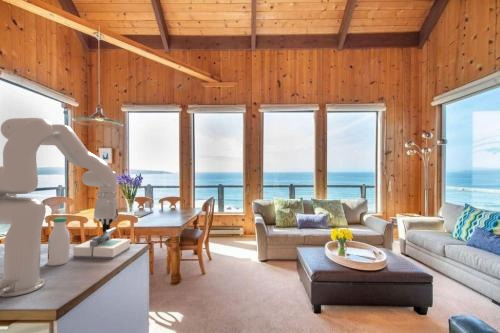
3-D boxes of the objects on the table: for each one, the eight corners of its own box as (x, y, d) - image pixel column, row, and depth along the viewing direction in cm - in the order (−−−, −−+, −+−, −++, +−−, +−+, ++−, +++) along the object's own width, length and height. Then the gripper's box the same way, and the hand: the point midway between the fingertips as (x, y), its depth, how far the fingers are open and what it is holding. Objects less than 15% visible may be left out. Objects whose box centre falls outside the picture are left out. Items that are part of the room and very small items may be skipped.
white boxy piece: (112, 259, 119) (113, 242, 119) (73, 257, 120) (73, 241, 120) (129, 248, 135) (130, 234, 135) (94, 247, 136) (95, 233, 136)
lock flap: (92, 243, 123) (95, 245, 123) (104, 230, 123) (107, 232, 123) (103, 238, 132) (106, 240, 132) (115, 226, 132) (117, 228, 132)
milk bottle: (73, 260, 116) (75, 216, 116) (59, 266, 108) (60, 219, 109) (57, 259, 117) (59, 216, 117) (42, 265, 109) (44, 219, 110)
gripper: (87, 195, 124) (86, 233, 124) (118, 196, 124) (116, 234, 124) (97, 194, 132) (96, 229, 131) (125, 195, 132) (124, 230, 131)
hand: (106, 232), depth 127 cm, fingers closed
